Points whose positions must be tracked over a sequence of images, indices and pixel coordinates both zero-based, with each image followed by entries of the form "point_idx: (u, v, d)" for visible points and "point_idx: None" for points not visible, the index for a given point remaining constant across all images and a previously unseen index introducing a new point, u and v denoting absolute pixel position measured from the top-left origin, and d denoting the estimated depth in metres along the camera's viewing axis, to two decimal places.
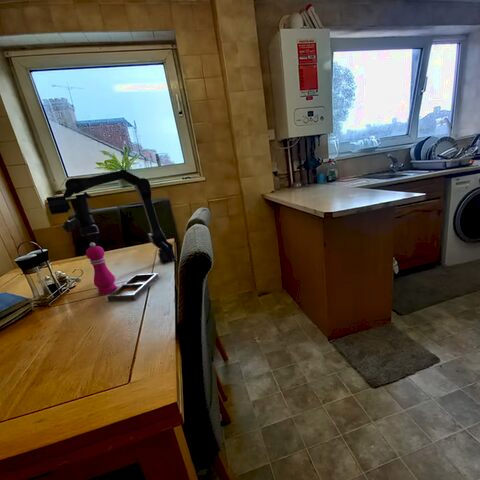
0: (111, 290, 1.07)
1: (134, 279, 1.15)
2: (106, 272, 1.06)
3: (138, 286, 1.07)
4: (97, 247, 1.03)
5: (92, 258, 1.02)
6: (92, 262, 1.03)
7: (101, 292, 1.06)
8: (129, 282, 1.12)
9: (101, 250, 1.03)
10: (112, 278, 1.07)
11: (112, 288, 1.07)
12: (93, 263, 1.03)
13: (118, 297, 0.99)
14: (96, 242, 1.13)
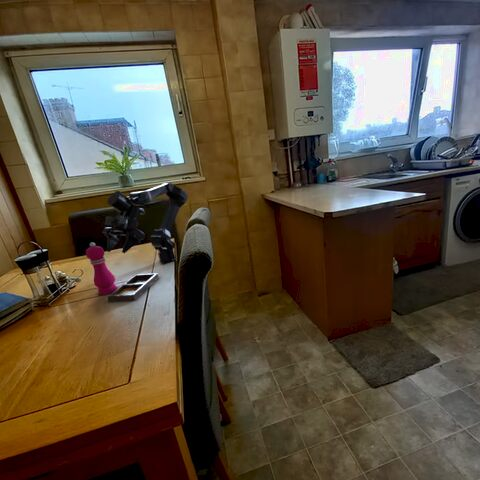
0: (111, 290, 1.07)
1: (134, 279, 1.15)
2: (106, 271, 1.06)
3: (138, 286, 1.07)
4: (97, 247, 1.03)
5: (92, 258, 1.02)
6: (92, 262, 1.03)
7: (101, 292, 1.06)
8: (129, 282, 1.12)
9: (101, 250, 1.03)
10: (112, 278, 1.07)
11: (112, 288, 1.07)
12: (93, 263, 1.03)
13: (118, 297, 0.99)
14: (129, 247, 1.11)
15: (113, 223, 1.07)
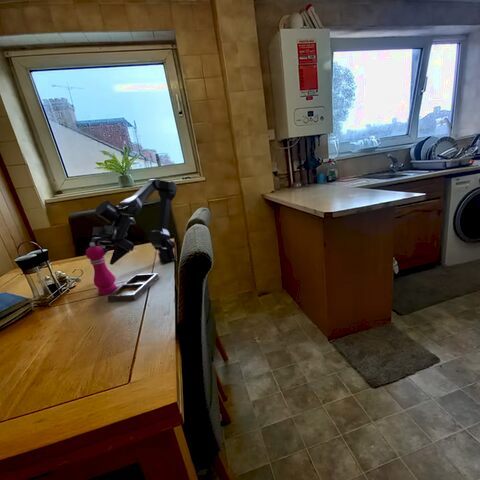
0: (111, 290, 1.07)
1: (134, 279, 1.15)
2: (106, 271, 1.06)
3: (138, 286, 1.07)
4: (97, 247, 1.03)
5: (92, 258, 1.02)
6: (92, 262, 1.03)
7: (101, 292, 1.06)
8: (129, 282, 1.12)
9: (101, 250, 1.03)
10: (112, 278, 1.07)
11: (112, 288, 1.07)
12: (93, 263, 1.03)
13: (118, 297, 0.99)
14: (118, 259, 1.06)
15: (101, 233, 1.03)
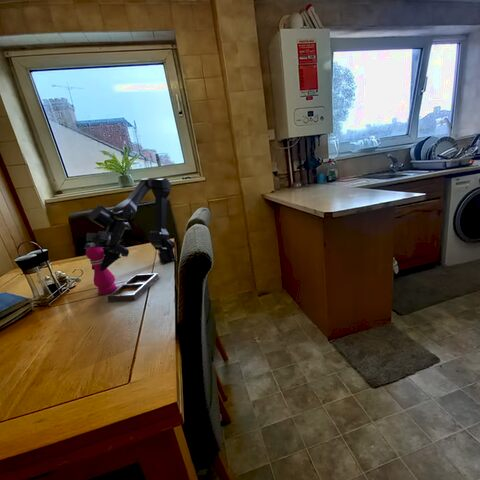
0: (111, 290, 1.07)
1: (134, 279, 1.15)
2: (106, 272, 1.05)
3: (138, 286, 1.07)
4: (97, 247, 1.02)
5: (92, 258, 1.01)
6: (92, 262, 1.02)
7: (101, 292, 1.06)
8: (129, 282, 1.12)
9: (101, 250, 1.03)
10: (112, 278, 1.07)
11: (112, 288, 1.08)
12: (93, 263, 1.02)
13: (118, 297, 0.99)
14: (109, 264, 1.05)
15: (94, 239, 1.01)
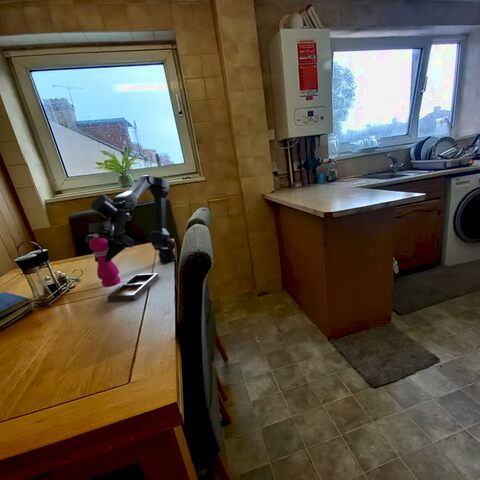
0: (115, 282, 1.04)
1: (134, 279, 1.15)
2: (110, 263, 1.02)
3: (138, 286, 1.07)
4: (101, 238, 0.99)
5: (96, 250, 0.98)
6: (96, 254, 0.99)
7: (105, 285, 1.03)
8: (129, 282, 1.12)
9: (105, 241, 0.99)
10: (116, 270, 1.04)
11: (116, 280, 1.04)
12: (97, 255, 0.99)
13: (118, 297, 0.99)
14: (113, 256, 1.02)
15: (99, 230, 0.97)
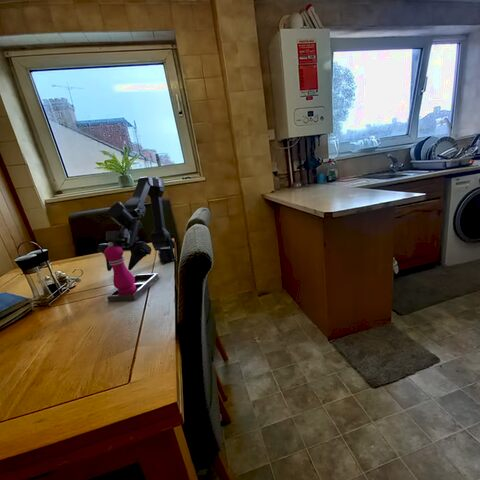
0: (133, 290, 1.03)
1: None
2: (126, 271, 1.01)
3: (138, 286, 1.07)
4: (116, 246, 0.97)
5: (113, 258, 0.96)
6: (112, 262, 0.97)
7: (123, 293, 1.01)
8: None
9: (121, 249, 0.98)
10: (133, 278, 1.02)
11: (134, 288, 1.03)
12: (113, 263, 0.97)
13: (118, 297, 0.99)
14: (135, 263, 1.00)
15: (117, 238, 0.96)
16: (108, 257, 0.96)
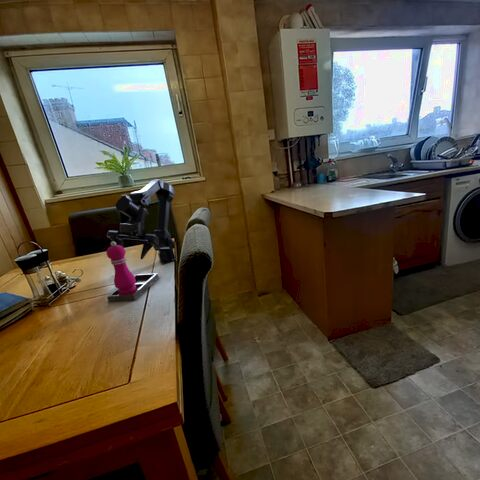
0: (133, 291, 1.03)
1: None
2: (128, 271, 1.01)
3: (138, 286, 1.07)
4: (119, 246, 0.98)
5: (115, 258, 0.97)
6: (114, 262, 0.98)
7: (123, 293, 1.01)
8: None
9: (123, 249, 0.99)
10: (134, 278, 1.03)
11: (134, 289, 1.03)
12: (115, 263, 0.98)
13: (118, 297, 0.99)
14: (146, 253, 1.12)
15: (132, 231, 1.05)
16: (110, 256, 0.96)
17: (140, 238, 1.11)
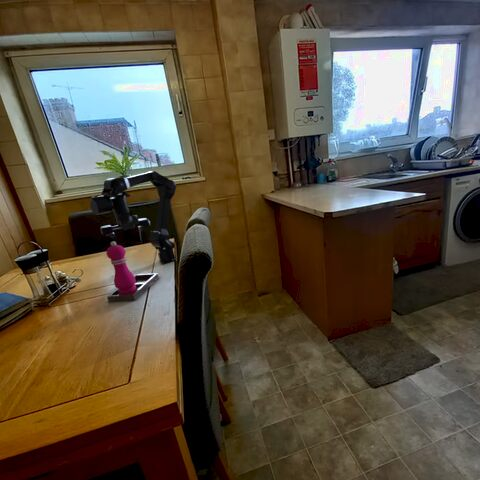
0: (133, 291, 1.03)
1: None
2: (128, 271, 1.01)
3: (138, 286, 1.07)
4: (119, 246, 0.98)
5: (115, 258, 0.97)
6: (114, 262, 0.98)
7: (123, 293, 1.01)
8: None
9: (123, 249, 0.99)
10: (134, 278, 1.03)
11: (134, 289, 1.03)
12: (115, 263, 0.98)
13: (118, 297, 0.99)
14: None
15: (134, 226, 1.13)
16: (110, 256, 0.96)
17: None
